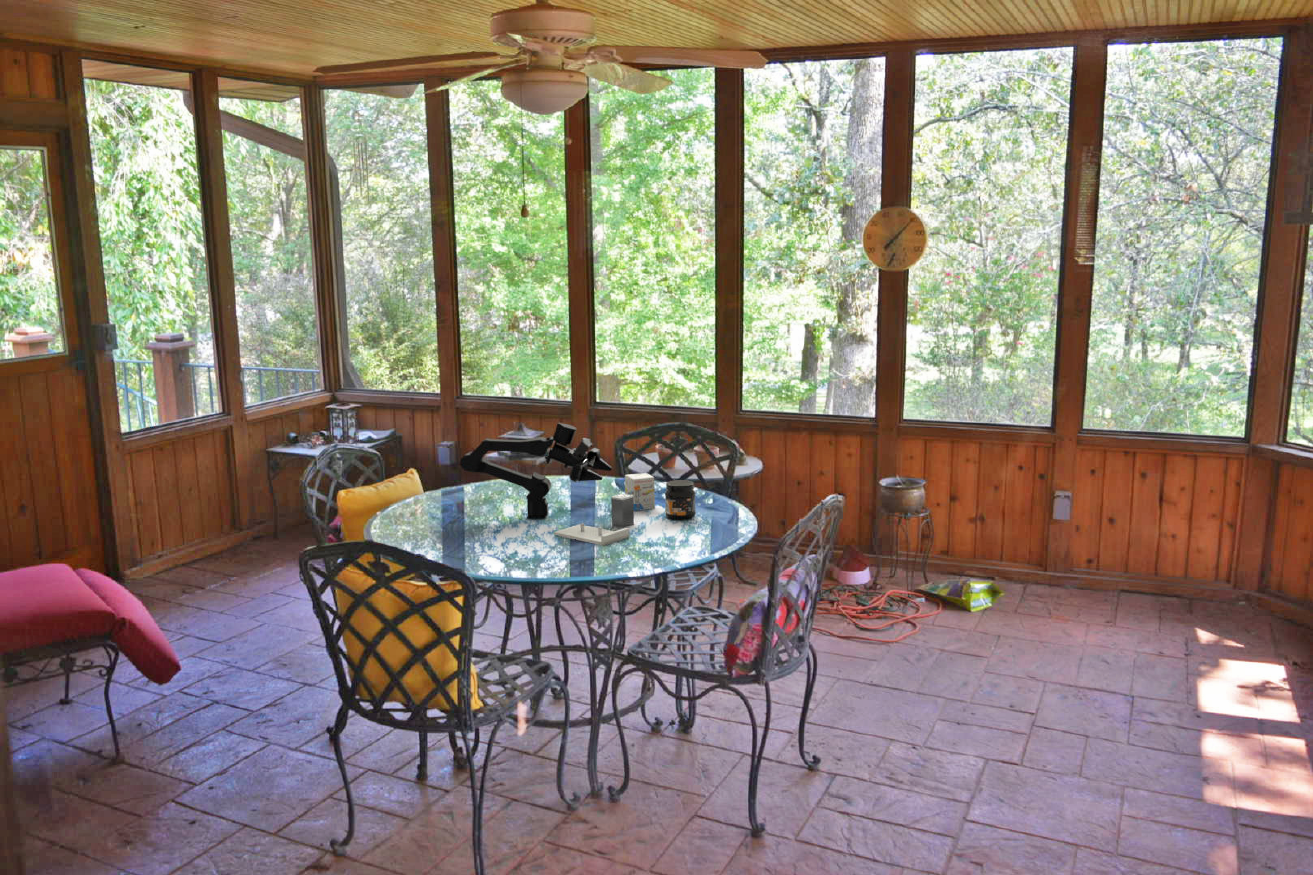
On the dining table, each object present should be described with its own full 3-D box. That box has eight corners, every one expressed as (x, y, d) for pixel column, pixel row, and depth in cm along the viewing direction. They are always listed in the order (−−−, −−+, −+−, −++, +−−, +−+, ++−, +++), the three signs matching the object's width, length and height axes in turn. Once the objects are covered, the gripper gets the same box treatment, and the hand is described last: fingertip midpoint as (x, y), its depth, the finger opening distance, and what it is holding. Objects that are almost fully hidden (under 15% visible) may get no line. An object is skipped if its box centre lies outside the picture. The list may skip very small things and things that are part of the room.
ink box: (633, 511, 378) (632, 478, 376) (624, 506, 386) (624, 474, 384) (655, 508, 381) (655, 476, 379) (647, 503, 389) (646, 472, 387)
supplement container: (660, 519, 367) (659, 484, 365) (672, 511, 376) (672, 478, 374) (688, 521, 362) (688, 487, 360) (700, 514, 372) (700, 480, 370)
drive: (611, 525, 359) (611, 496, 357) (622, 522, 363) (621, 493, 361) (623, 527, 356) (622, 498, 354) (633, 524, 360) (633, 495, 358)
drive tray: (554, 534, 349) (553, 524, 348) (579, 527, 358) (579, 517, 357) (604, 545, 335) (603, 534, 334) (629, 537, 344) (629, 526, 343)
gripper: (561, 444, 357) (603, 462, 354) (582, 427, 373) (622, 444, 370) (553, 473, 361) (594, 491, 358) (574, 455, 378) (614, 472, 375)
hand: (607, 474), depth 365 cm, fingers open, 9 cm apart
